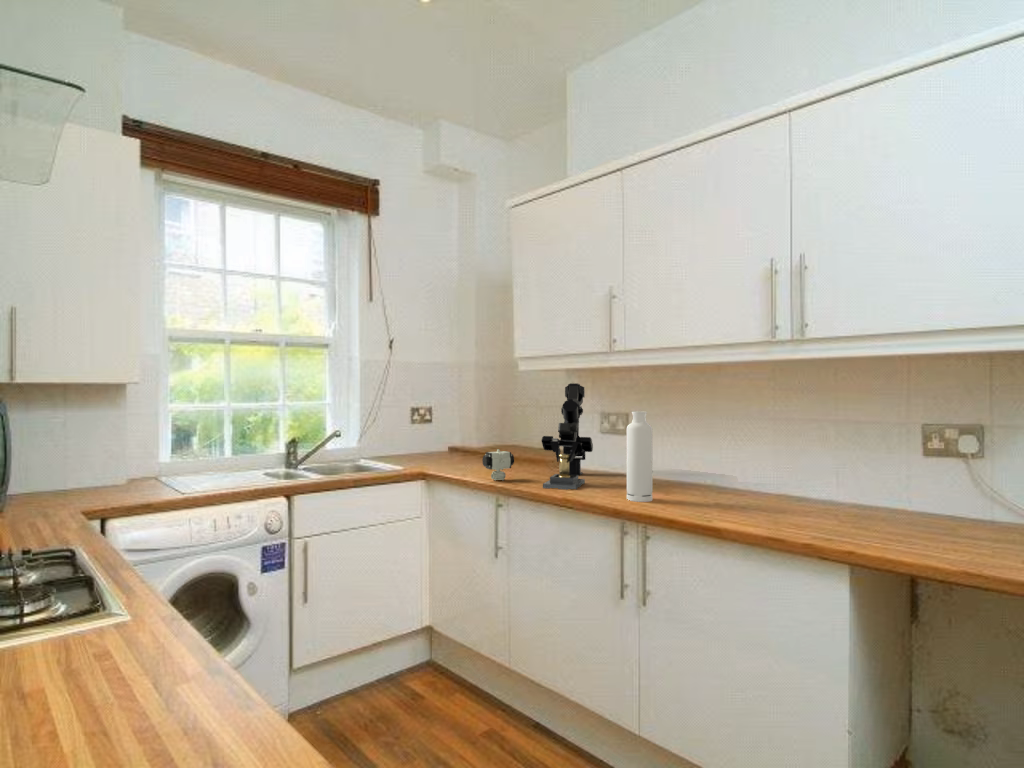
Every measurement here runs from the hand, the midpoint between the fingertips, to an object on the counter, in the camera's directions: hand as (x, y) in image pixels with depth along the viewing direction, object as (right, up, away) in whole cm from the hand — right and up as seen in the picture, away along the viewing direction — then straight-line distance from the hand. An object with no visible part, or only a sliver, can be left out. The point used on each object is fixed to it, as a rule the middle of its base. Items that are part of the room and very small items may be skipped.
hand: (563, 461), depth 209 cm
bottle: (+22, -9, -26) cm, 35 cm away
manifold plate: (0, -9, +1) cm, 9 cm away
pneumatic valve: (-24, -9, +13) cm, 29 cm away
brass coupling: (0, -7, +1) cm, 7 cm away
